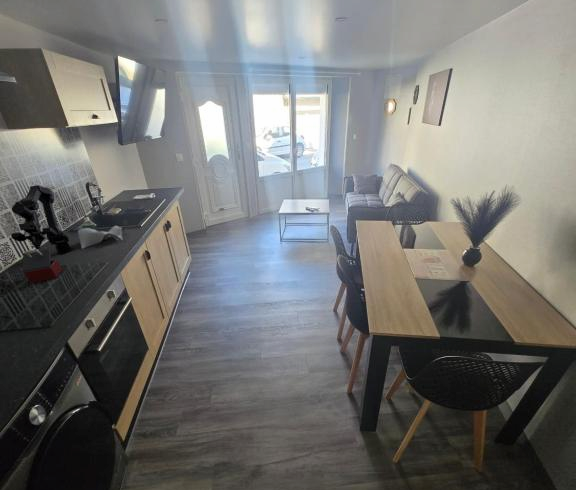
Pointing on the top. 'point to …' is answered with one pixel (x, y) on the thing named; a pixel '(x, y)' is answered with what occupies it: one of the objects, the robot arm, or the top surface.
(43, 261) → the lid
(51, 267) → the red box
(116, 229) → the grey crumpled fabric piece
